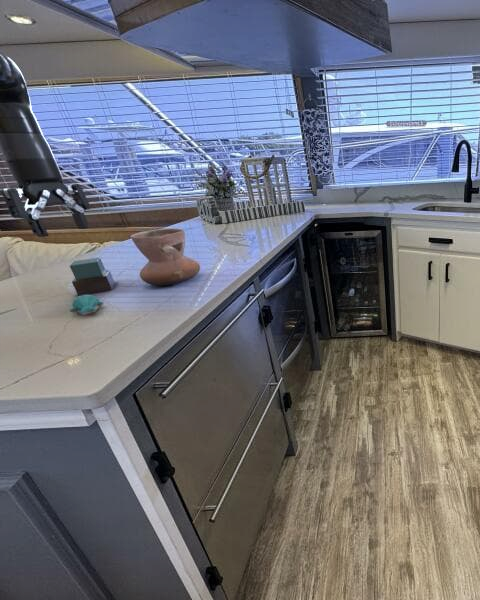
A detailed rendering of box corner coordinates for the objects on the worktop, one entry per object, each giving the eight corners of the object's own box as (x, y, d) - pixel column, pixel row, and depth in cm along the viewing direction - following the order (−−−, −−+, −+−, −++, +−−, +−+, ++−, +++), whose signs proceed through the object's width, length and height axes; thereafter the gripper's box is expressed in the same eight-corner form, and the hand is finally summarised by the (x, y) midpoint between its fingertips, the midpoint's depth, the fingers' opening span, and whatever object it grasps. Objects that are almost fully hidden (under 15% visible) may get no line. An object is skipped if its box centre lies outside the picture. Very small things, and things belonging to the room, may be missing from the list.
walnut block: (78, 295, 85) (71, 281, 83) (83, 288, 90) (77, 275, 89) (111, 289, 88) (106, 275, 87) (114, 282, 94) (109, 269, 92)
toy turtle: (105, 304, 79) (98, 289, 77) (106, 312, 74) (99, 297, 72) (72, 311, 75) (65, 296, 74) (72, 321, 70) (64, 305, 69)
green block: (76, 280, 84) (69, 265, 83) (80, 275, 89) (73, 261, 87) (103, 275, 87) (97, 261, 86) (105, 271, 91) (100, 257, 90)
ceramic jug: (210, 280, 92) (195, 231, 87) (149, 295, 83) (129, 241, 78) (193, 268, 104) (180, 224, 99) (139, 280, 95) (120, 232, 90)
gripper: (53, 158, 76) (82, 226, 83) (-29, 158, 63) (14, 239, 70) (79, 156, 75) (107, 226, 82) (1, 156, 62) (42, 239, 69)
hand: (64, 232), depth 76 cm, fingers open, 8 cm apart
